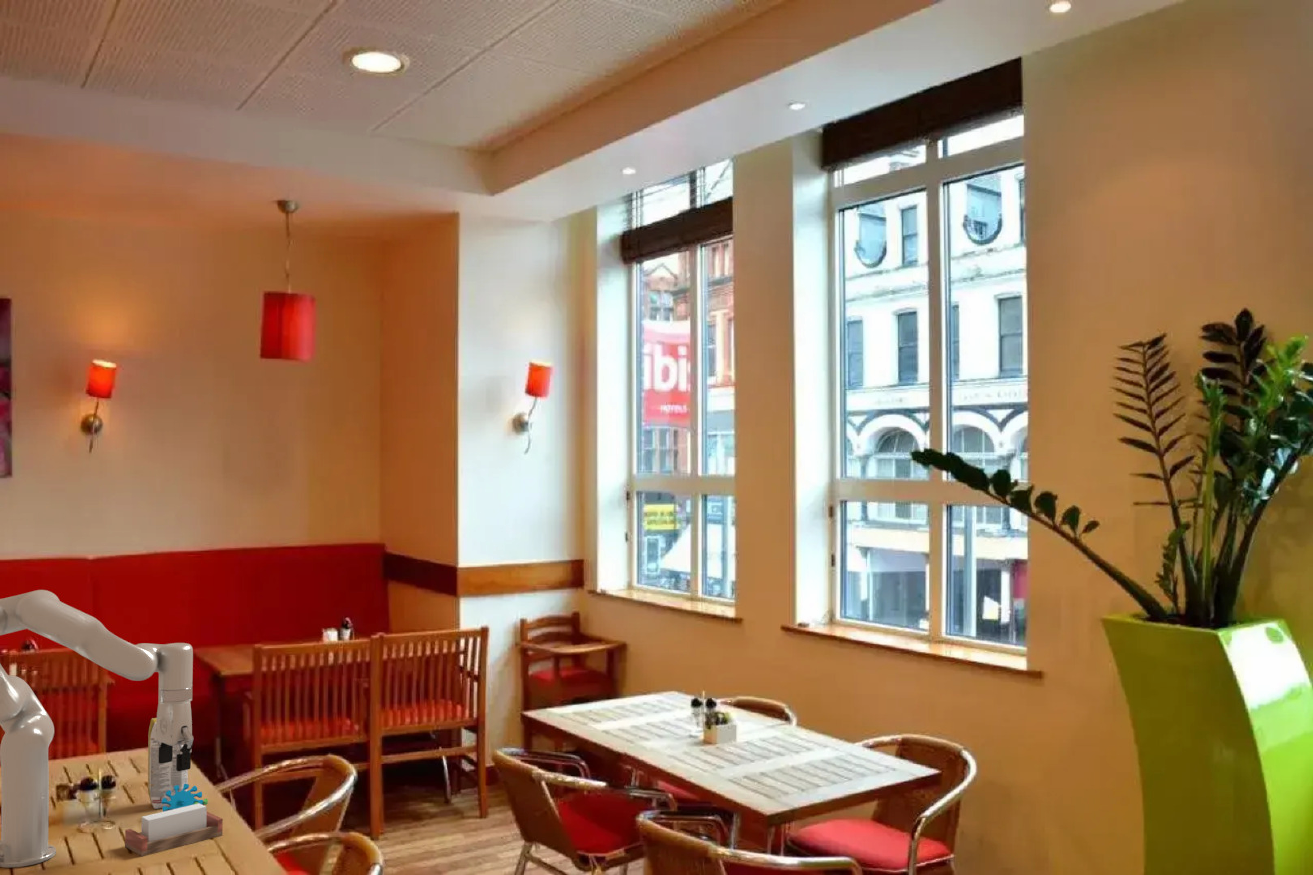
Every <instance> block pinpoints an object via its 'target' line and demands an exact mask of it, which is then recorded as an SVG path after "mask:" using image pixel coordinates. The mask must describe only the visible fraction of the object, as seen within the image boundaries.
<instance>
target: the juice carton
mask: <svg viewBox="0 0 1313 875" xmlns="http://www.w3.org/2000/svg"><path fill="white" fill-rule="evenodd" d="M156 720H157V717H154V718H153V717H152V718H151V719H150V723H149V728H148V735H147V736H148V739H147V740H148V741H147V742H148V746H147V747H148V750H147V753H148V754H147V763H148V764H147V794H148V797H149V801H150V804H151V805H152V807H153V809H155V810H156V809H163V806H167V807H171V806H170V805H169V804H162V803H161V801H162V799H163V798H166V799H167V801H171V799H170V797H168V796H166V792H167V791H168V790H171V795H172V796H173V795H175V790H174V786H176V785H179V790H178V792H180V791H181V790H182V789H183V787H184V784H185V783H186V784H189V783H188V782H189V781H188V776H189V772H188V770H189V769H188V770H183V771H177V770H176V761H177V754H178V750H177V747H176V744H175V745H174V746H173V760H172V762H167V763H162V764H160V763H159V746H158V742H159V741H158V740H157V739H156ZM160 747H161V746H160ZM182 747H183V745H181V748H182ZM184 791H188V789H186V790H184Z"/></svg>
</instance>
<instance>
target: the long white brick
mask: <svg viewBox="0 0 1313 875" xmlns="http://www.w3.org/2000/svg"><path fill="white" fill-rule="evenodd" d="M207 809H208V808H207V805H202V804H200V803H198V804H194V805H190V806H186V807H181V808H177V809H173V810H168V811H164V812H163V811H161V812H156V813H152V814H149V815H148V814H146V815H144V816H141V830H140V831H141V832H140V833H141V835H143V836H145V837H147V842H151V841H155V840H158V839H162V838H166V837H170V836H174V835H178V834H182V833H186V832H190V831H194V830H198V829H202V828H206V821H207V812H208V810H207Z"/></svg>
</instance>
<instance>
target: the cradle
mask: <svg viewBox="0 0 1313 875" xmlns="http://www.w3.org/2000/svg"><path fill="white" fill-rule="evenodd" d="M223 824H224V822H223V818H222V817H219V816H218V815H215V814H213V813H211V812H209V811H207V821H206V828H202V829H198V830H194V831H190V832H186V833H182V834H178V835H174V836H170V837H166V838H162V839H158V840H155V841H151V842H147V837H145V836H143V835H141V832H137V831H136V830H134V829H132V828H128V829H125V832H124V835H125V836H124V838H125V839H124V841H125V842H124V843H125V845H124V847H125V848H126V849H128V850H130V851H132V852H133V853H136V854H137V855H139V856H140V857H144V856H149V855H152V854H155V853H160V852H163V851H167V850H171V849H175V848H178V847H183V846H187V845H190V844H194V843H197V842H202V841H206V840H209V839H212V838H217V837H221V836H223Z"/></svg>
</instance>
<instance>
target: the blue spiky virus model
mask: <svg viewBox="0 0 1313 875" xmlns="http://www.w3.org/2000/svg"><path fill="white" fill-rule="evenodd" d="M189 788H190V784H189V783H188V784H186V783H185V784H184V787H183V789H182V790H181V791H180V792H178V790H179V785H176V786H174V790H175V795H173V796H172V795H171V790H168V791H167V792H166V796H168V797H170V799H171V801H167V799H166V798H163V799H162V801H161V803H162V804H169V805H170V806H171V807H167V806H163V808H162V812H164V811H169V810H173V809H177V808H181V807H186V806H190V805H194V804H198V803H200V804H202V805H204V806H207V805H208V803H209V799H208V798H204V799H202V797H203V792H202V791H198V787H197V786H196V785H193V786H192V787H191V788H190V789H189ZM186 789H187V791H184V790H186ZM197 791H198V792H197ZM192 792H193V793H192ZM195 792H197V793H195ZM195 797H197V798H199V799H197V798H195Z"/></svg>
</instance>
